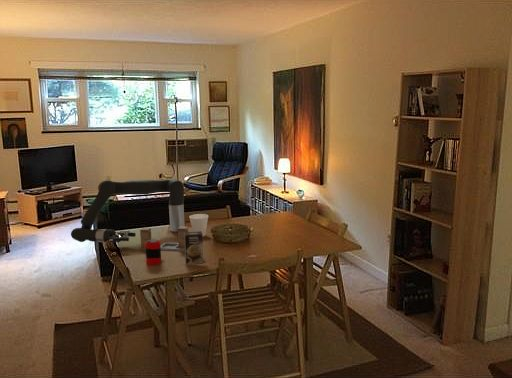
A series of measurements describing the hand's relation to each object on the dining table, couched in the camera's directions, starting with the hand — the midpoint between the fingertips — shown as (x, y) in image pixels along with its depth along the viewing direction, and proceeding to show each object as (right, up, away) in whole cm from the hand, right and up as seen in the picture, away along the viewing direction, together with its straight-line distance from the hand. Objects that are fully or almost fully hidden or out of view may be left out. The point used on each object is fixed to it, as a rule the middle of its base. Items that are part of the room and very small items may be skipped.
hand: (132, 236), depth 267 cm
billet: (+8, -7, 0) cm, 11 cm away
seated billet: (+30, -6, -5) cm, 31 cm away
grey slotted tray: (+26, -7, -4) cm, 27 cm away
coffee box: (+39, -11, -24) cm, 47 cm away
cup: (+35, -2, +25) cm, 43 cm away
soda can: (+17, -11, -23) cm, 31 cm away
